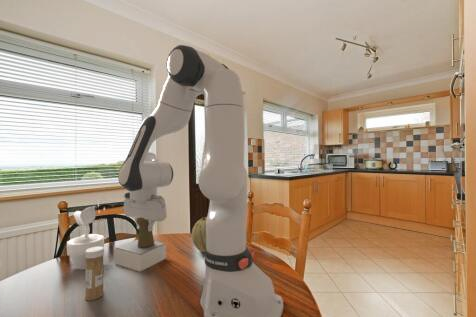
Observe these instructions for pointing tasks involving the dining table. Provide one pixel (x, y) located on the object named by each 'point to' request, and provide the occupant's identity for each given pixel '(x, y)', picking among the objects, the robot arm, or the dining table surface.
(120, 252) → the white lidded box
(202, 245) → the cantaloupe
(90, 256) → the sprinkles bottle
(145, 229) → the brown tapered cylinder
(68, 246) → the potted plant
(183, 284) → the dining table surface
